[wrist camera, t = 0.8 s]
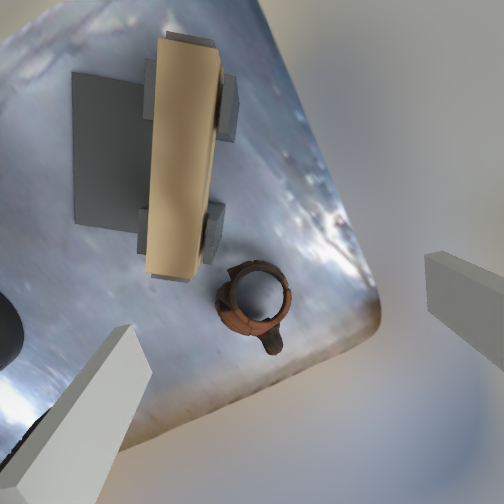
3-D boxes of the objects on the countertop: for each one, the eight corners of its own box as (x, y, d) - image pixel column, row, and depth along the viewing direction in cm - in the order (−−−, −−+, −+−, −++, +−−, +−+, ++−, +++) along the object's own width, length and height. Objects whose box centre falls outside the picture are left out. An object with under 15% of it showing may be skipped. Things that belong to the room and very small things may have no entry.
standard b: (175, 132, 31) (142, 118, 22) (178, 92, 30) (145, 59, 20) (234, 142, 31) (228, 133, 22) (239, 103, 30) (235, 76, 21)
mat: (78, 222, 34) (75, 223, 33) (75, 73, 29) (71, 71, 29) (161, 235, 35) (160, 236, 34) (171, 91, 30) (170, 89, 29)
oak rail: (160, 261, 28) (145, 278, 24) (175, 52, 23) (158, 26, 19) (200, 267, 28) (192, 285, 24) (224, 62, 23) (218, 38, 19)
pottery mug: (197, 287, 37) (204, 284, 30) (254, 252, 40) (274, 240, 33) (244, 364, 37) (264, 381, 30) (298, 323, 40) (328, 328, 33)
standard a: (167, 228, 34) (136, 253, 25) (170, 195, 33) (138, 208, 24) (221, 236, 35) (211, 264, 25) (225, 204, 34) (217, 221, 24)
